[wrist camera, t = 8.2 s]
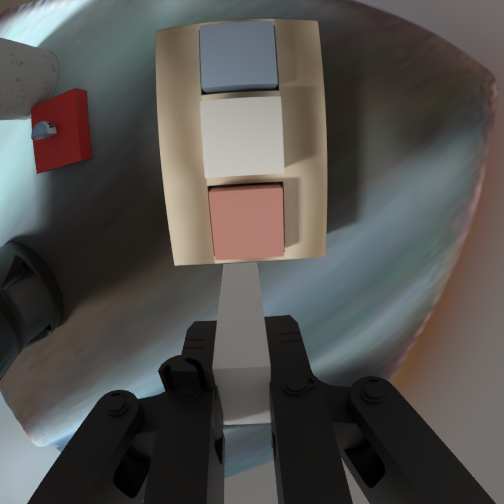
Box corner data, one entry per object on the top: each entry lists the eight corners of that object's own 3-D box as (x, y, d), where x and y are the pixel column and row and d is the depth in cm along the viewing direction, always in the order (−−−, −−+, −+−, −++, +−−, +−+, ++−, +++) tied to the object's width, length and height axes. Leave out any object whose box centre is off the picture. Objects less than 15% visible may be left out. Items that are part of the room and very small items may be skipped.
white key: (209, 173, 23) (204, 178, 20) (205, 106, 21) (199, 101, 18) (279, 169, 23) (284, 173, 20) (276, 101, 21) (280, 96, 18)
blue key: (206, 94, 22) (201, 88, 19) (204, 37, 20) (199, 25, 17) (273, 90, 22) (277, 83, 19) (270, 33, 20) (273, 21, 17)
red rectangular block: (44, 108, 24) (11, 107, 18) (87, 91, 24) (56, 84, 18) (50, 170, 27) (18, 179, 21) (93, 157, 27) (62, 163, 21)
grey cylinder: (4, 122, 24) (-62, 131, 12) (16, 57, 20) (-46, 47, 9) (51, 117, 24) (-22, 119, 13) (65, 43, 21) (1, 20, 9)
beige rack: (184, 246, 31) (174, 265, 26) (169, 46, 23) (155, 30, 18) (313, 239, 31) (325, 256, 26) (306, 38, 23) (317, 21, 18)
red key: (218, 247, 27) (215, 260, 24) (212, 186, 25) (208, 192, 22) (279, 244, 27) (283, 256, 24) (278, 182, 25) (282, 188, 22)
